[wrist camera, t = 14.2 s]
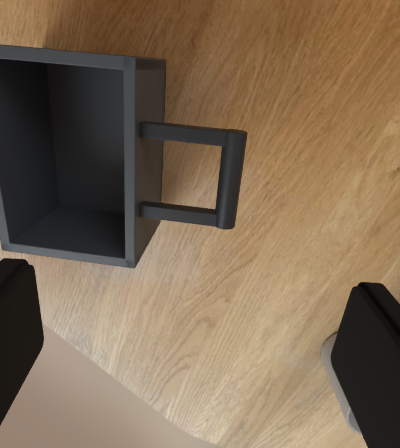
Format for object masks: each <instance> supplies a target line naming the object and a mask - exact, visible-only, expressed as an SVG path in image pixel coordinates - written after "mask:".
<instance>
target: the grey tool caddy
mask: <svg viewBox="0 0 400 448" xmlns="http://www.w3.org/2000/svg"><path fill="white" fill-rule="evenodd" d="M165 83H166V60H165V59H155V58H144V57H133V56H122V55H111V54H100V53H89V52H78V51H66V50H55V49H44V48H33V47H22V46H11V45H0V241H1V247H2V250H4V251H11V252H18V253H26V254H33V255H40V256H47V257H55V258H62V259H69V260H77V261H84V262H91V263H98V264H106V265H113V266H120V267H128V268H135V267H136V265H137V263H138V262H139V260H140V258H141V256H142V254H143V253H144V251H145V249H146V247H147V245H148V244H149V242H150V240H151V238H152V236H153V235H154V233H155V231H156V229H157V227H158V226H159V224H160V220H168V221H176V222H184V223H192V224H200V225H208V226H216V227H217V228H220V229H232V228H234V227H235V221H236V214H237V206H238V199H239V192H240V184H241V177H242V170H243V162H244V155H245V148H246V140H247V132H246V131H242V130H236V129H219V128H209V127H200V126H190V125H180V124H171V123H164V110H165ZM163 140H169V141H178V142H187V143H197V144H206V145H215V146H222V152H221V162H220V171H219V180H218V189H217V199H216V208H215V209H208V208H199V207H191V206H183V205H175V204H167V203H161V192H162V165H163Z"/></svg>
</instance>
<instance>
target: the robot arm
mask: <svg viewBox="0 0 400 448" xmlns="http://www.w3.org/2000/svg"><path fill="white" fill-rule="evenodd" d="M43 342H44V336H43V327H42V320H41V313H40V305H39V298H38V291H37V284H36V276H35V270H34V267H33V266H32V265H29V264H28V262H27V260H25V259H10V258H4V259H2V260H1V261H0V425H1V423H2V421H3V419H4V418H5V416H6V414H7V412H8V410H9V408H10V407H11V405H12V403H13V401H14V399H15V397H16V395H17V394H18V392H19V390H20V388H21V386H22V384H23V382H24V381H25V379H26V377H27V375H28V373H29V371H30V370H31V368H32V366H33V364H34V362H35V360H36V359H37V357H38V355H39V353H40V351H41V349H42V346H43ZM331 365H332V368H333V370H334V372H335V374H336V377H337V379H338V381H339V383H340V386H341V388H342V390H343V392H344V395H345V397H346V399H347V401H348V404H349V406H350V408H351V410H352V413H353V415H354V417H355V419H356V422H357V424H358V426H359V429H360V431H361V433H362V435H363V438H364V440H365V442H366V444H367V447H368V448H400V304H399V303H398V302H397V300H396V299H395V298H394V297H393V296H392V294H391V293H390V292H389V291H388V290H387V288H386V287H385V286H384V285H383V284H381V283H369V282H361V283H359V284H358V286H357V287H356V286H355V287H353V288H352V290H351V293H350V296H349V299H348V302H347V305H346V308H345V312H344V315H343V318H342V321H341V324H340V327H339V330H338V333H337V336H336V339H335V342H334V345H333V349H332V352H331Z"/></svg>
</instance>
